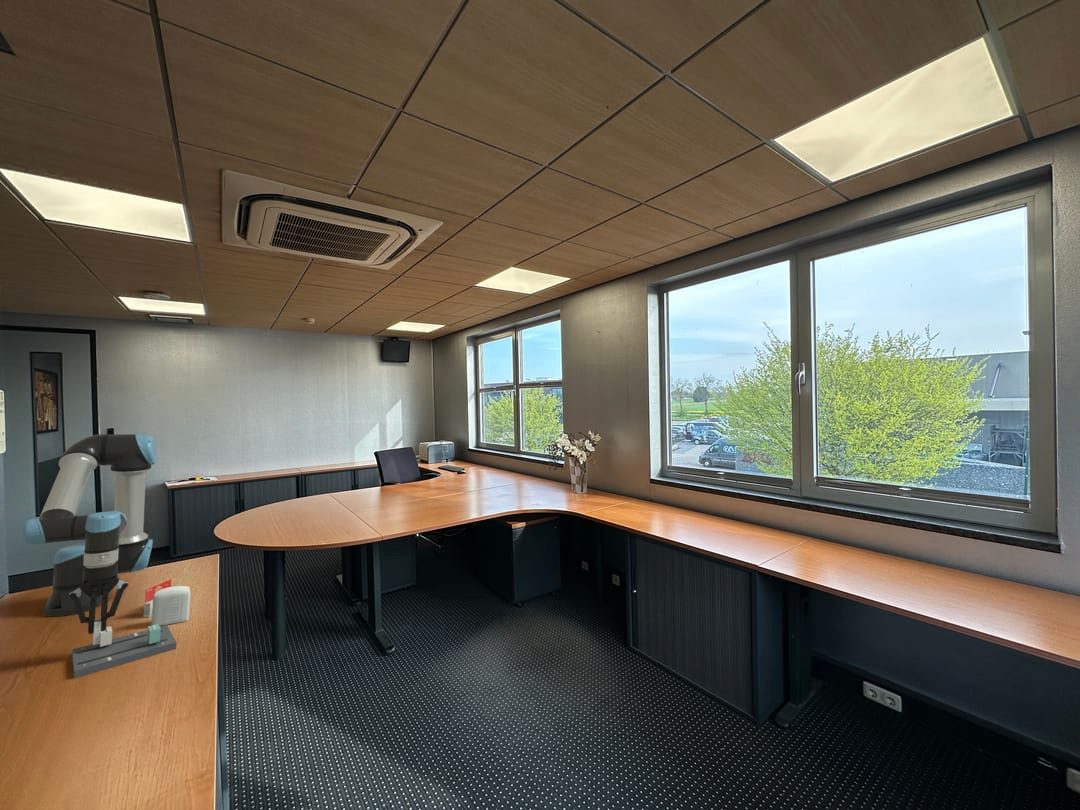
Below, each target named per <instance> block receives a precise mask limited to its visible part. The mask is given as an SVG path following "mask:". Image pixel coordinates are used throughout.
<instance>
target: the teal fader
mask: <svg viewBox="0 0 1080 810" xmlns="http://www.w3.org/2000/svg"><path fill="white" fill-rule="evenodd" d="M160 627H161V626H159V624H156V625H152V626H151V625H150V626H149V625H148V626H147V630H148V634H147V640H148V642H149V644H152V643H156V642H159V641H160V631H161V628H160Z"/></svg>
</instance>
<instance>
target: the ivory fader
mask: <svg viewBox="0 0 1080 810" xmlns="http://www.w3.org/2000/svg"><path fill="white" fill-rule="evenodd" d="M112 639H113V628H112V626H111V625H110V626H106V629H105V630H104V631H101V635H100V647H102V646H105V645H109V644H112Z"/></svg>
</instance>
